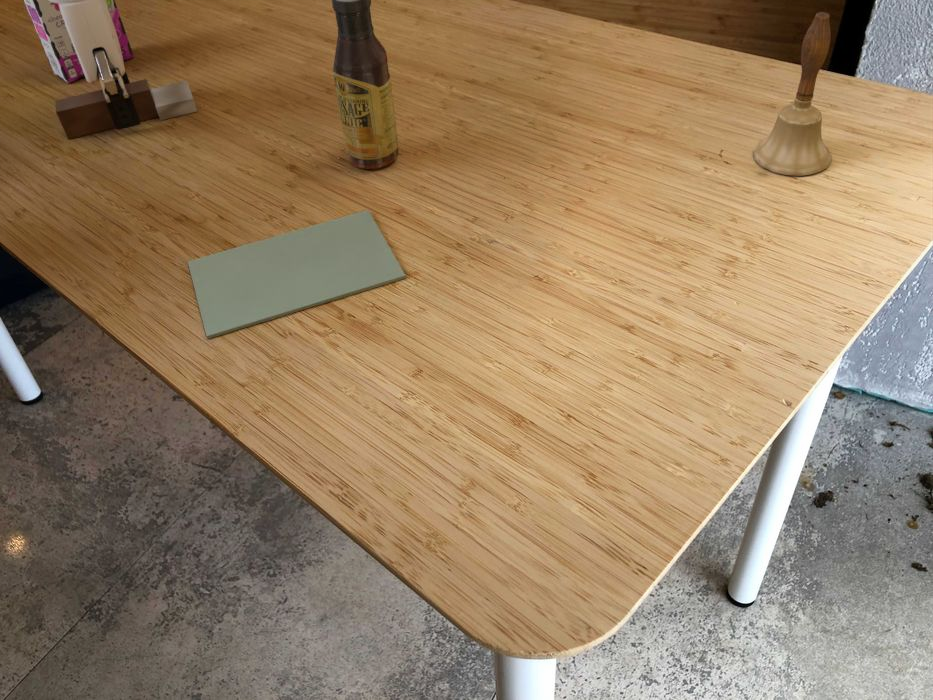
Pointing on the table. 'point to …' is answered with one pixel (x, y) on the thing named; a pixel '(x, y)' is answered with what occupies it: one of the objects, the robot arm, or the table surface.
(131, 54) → the candy bar box
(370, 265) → the mat
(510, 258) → the table surface
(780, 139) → the hand bell
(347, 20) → the sauce bottle
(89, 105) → the dark brown bar
